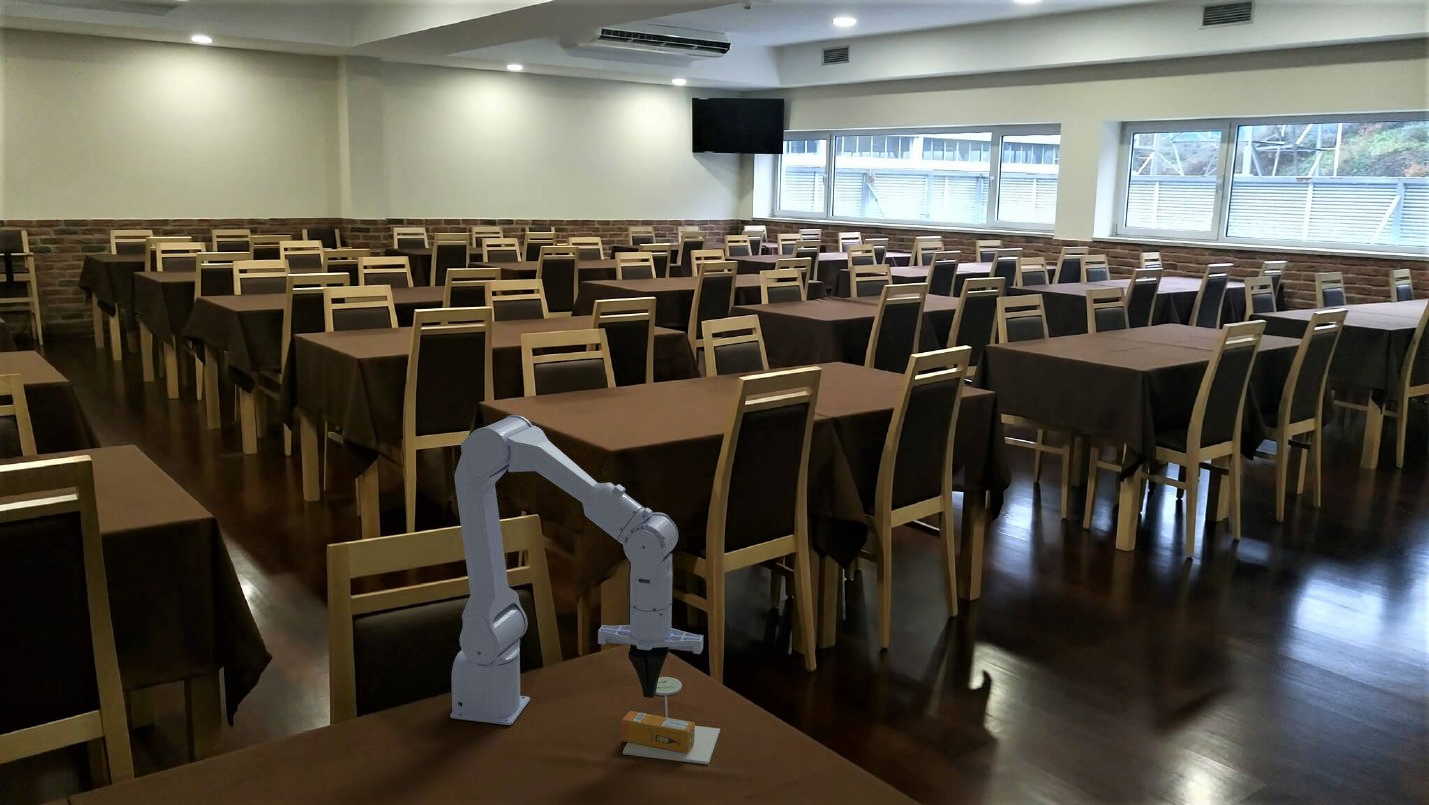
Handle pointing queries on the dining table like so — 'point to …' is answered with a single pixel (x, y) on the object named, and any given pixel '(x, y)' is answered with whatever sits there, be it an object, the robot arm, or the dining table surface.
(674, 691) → the sign
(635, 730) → the supplement box
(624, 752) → the mat
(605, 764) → the dining table surface
